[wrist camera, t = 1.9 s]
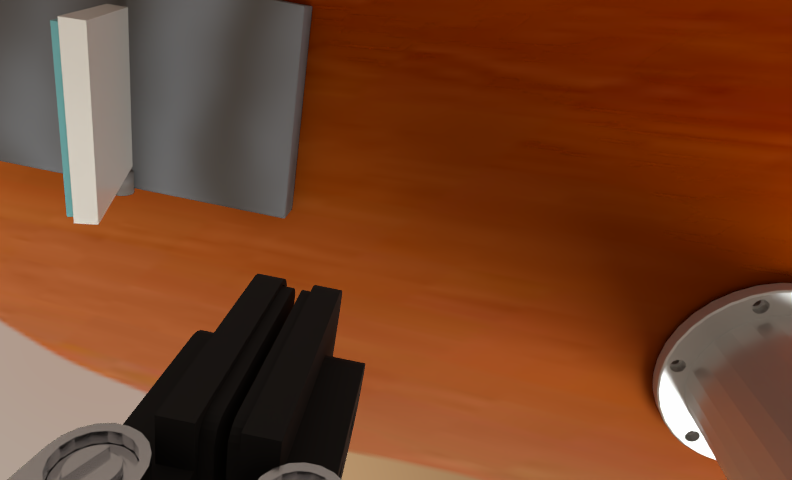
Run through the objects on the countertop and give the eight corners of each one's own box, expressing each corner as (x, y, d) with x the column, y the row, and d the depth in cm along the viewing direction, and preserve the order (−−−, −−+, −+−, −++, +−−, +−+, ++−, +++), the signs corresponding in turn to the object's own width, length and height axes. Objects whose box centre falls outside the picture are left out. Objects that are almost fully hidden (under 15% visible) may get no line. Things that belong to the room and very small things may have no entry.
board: (312, 4, 27) (298, 3, 24) (291, 210, 31) (277, 228, 29) (-34, -63, 27) (-84, -70, 25) (-5, 150, 32) (-44, 162, 29)
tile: (86, 20, 19) (47, 14, 19) (98, 224, 22) (65, 222, 22) (127, 6, 26) (99, 2, 25) (132, 166, 29) (107, 164, 29)
